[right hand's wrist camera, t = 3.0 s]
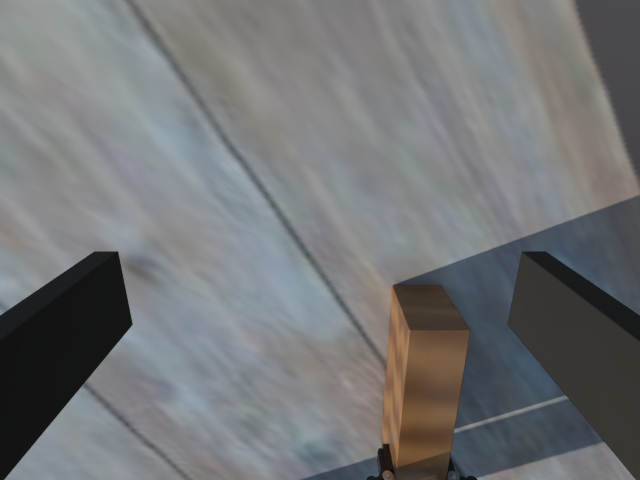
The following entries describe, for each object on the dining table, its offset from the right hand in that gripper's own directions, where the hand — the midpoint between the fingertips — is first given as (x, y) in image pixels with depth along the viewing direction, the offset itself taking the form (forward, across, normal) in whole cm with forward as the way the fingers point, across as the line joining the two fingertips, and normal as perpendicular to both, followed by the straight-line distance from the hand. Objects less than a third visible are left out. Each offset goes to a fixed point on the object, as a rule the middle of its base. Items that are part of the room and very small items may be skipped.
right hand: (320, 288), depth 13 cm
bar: (+27, +11, -25) cm, 38 cm away
